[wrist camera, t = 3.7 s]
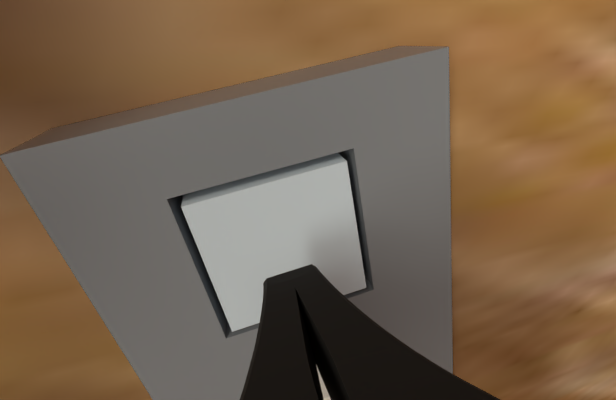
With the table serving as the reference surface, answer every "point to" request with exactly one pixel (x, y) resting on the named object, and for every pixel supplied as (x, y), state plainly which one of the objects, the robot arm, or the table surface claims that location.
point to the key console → (237, 165)
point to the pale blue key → (276, 232)
